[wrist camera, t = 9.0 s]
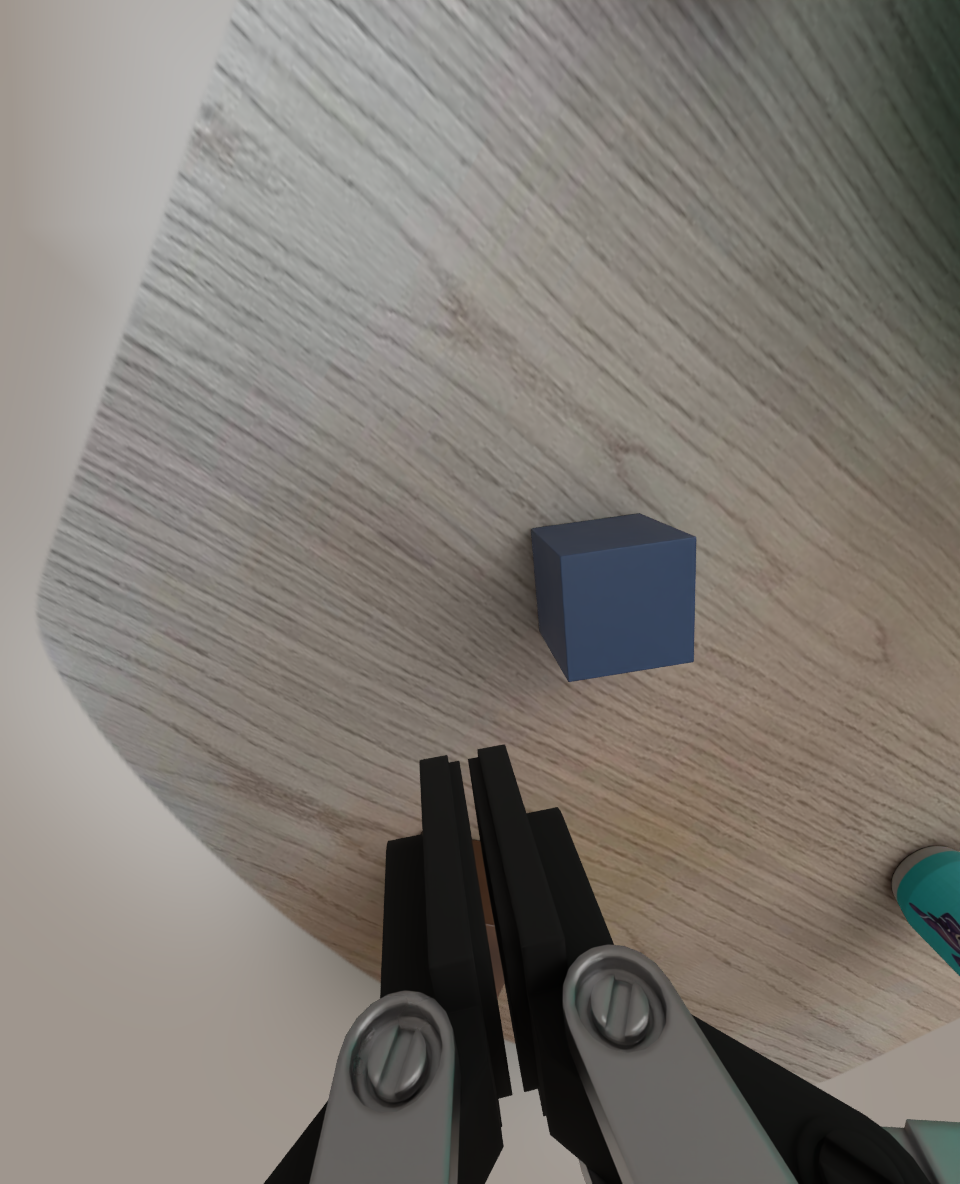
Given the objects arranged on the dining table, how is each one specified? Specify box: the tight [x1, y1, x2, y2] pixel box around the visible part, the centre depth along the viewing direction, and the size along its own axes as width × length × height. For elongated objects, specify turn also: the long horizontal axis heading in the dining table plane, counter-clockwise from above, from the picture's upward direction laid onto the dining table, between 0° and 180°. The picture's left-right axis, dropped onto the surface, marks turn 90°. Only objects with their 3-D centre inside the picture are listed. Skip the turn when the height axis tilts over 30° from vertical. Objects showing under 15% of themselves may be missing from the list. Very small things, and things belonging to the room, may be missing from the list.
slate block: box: [531, 513, 696, 682], centre depth 21 cm, size 5×5×5 cm
